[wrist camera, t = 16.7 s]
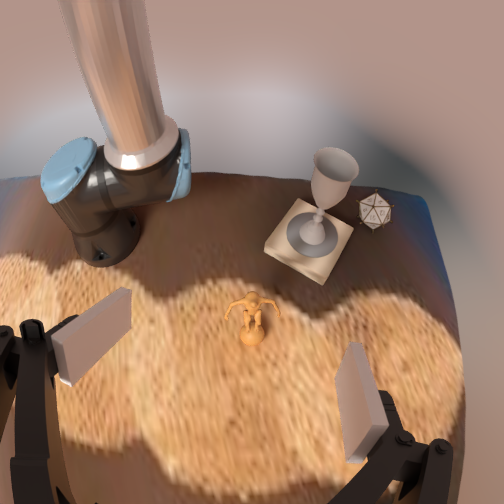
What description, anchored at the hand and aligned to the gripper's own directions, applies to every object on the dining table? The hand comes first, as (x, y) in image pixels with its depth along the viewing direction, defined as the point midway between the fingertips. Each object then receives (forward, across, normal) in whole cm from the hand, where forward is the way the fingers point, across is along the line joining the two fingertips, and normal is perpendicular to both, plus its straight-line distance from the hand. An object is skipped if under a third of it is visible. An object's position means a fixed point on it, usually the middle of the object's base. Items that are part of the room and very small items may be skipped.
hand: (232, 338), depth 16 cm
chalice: (+41, +7, 0) cm, 42 cm away
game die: (+50, +20, +4) cm, 55 cm away
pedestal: (+44, +7, -3) cm, 44 cm away
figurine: (+30, 0, -17) cm, 34 cm away
